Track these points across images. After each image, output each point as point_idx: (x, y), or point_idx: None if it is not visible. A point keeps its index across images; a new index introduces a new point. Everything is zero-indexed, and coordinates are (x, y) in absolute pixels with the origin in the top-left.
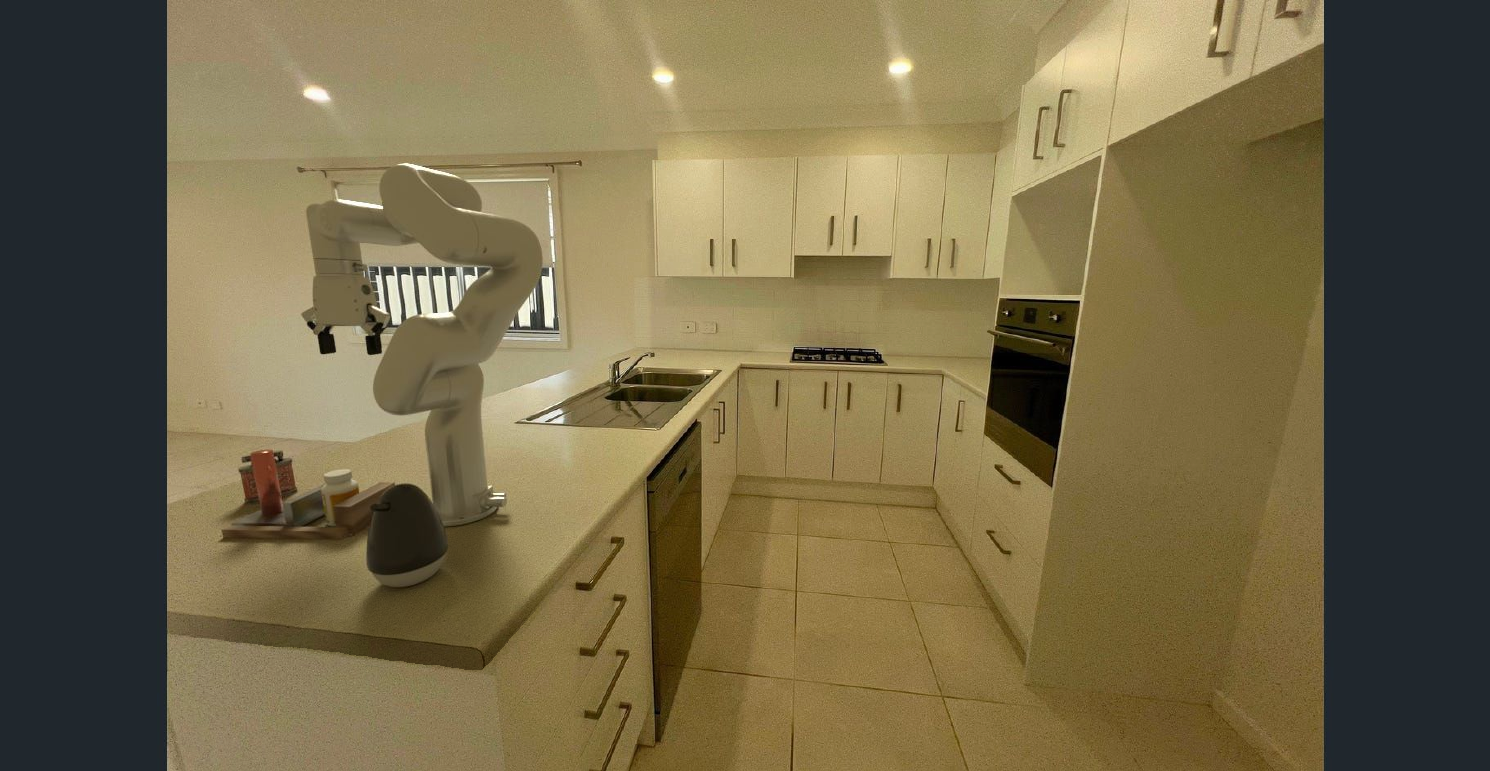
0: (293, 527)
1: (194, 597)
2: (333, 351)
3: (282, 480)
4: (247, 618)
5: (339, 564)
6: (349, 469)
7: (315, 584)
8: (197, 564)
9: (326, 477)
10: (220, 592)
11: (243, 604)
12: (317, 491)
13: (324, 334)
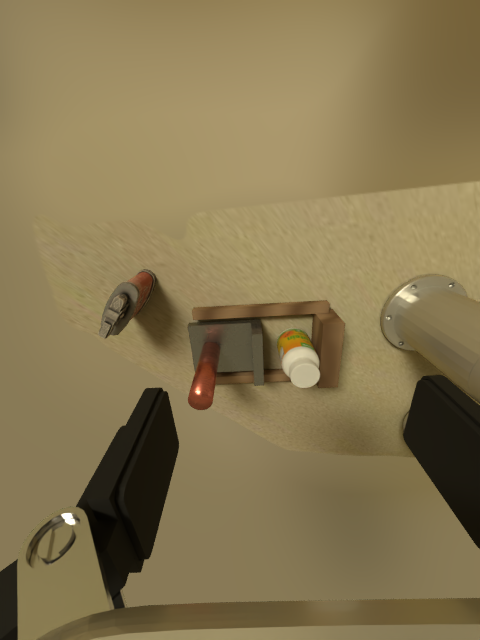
0: (268, 376)
1: (279, 441)
2: (168, 407)
3: (145, 294)
4: (336, 453)
5: (350, 406)
6: (312, 365)
7: (351, 426)
8: (234, 413)
9: (301, 387)
10: (291, 436)
11: (320, 444)
12: (262, 354)
13: (132, 553)
